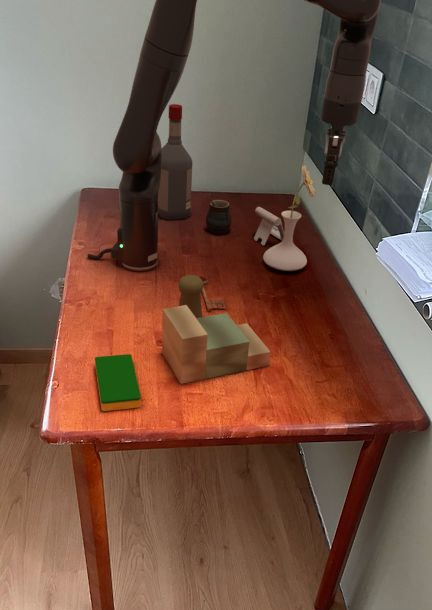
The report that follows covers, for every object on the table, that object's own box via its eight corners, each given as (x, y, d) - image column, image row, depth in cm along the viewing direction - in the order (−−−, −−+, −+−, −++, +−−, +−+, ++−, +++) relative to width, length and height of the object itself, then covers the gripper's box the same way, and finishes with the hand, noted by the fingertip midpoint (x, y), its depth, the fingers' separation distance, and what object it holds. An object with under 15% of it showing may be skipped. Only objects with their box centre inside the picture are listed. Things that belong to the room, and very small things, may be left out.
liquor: (161, 221, 177) (162, 110, 159) (154, 208, 184) (155, 101, 166) (191, 219, 179) (196, 110, 161) (184, 207, 186) (188, 101, 168)
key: (225, 311, 141) (213, 279, 152) (226, 308, 140) (214, 276, 152) (200, 311, 139) (190, 278, 151) (201, 307, 139) (191, 275, 150)
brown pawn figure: (199, 331, 133) (202, 287, 126) (172, 327, 134) (173, 282, 127) (205, 317, 138) (208, 273, 131) (179, 313, 138) (180, 269, 132)
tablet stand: (290, 243, 171) (294, 214, 166) (268, 249, 167) (271, 219, 162) (271, 231, 176) (274, 203, 171) (249, 236, 173) (252, 208, 167)
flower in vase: (294, 280, 154) (309, 181, 139) (254, 266, 159) (265, 169, 143) (315, 261, 163) (332, 166, 148) (277, 249, 168) (290, 156, 152)
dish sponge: (131, 363, 123) (131, 353, 121) (141, 407, 112) (141, 397, 111) (95, 366, 121) (94, 356, 120) (101, 412, 111) (101, 401, 109)
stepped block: (245, 336, 133) (250, 294, 126) (268, 365, 125) (274, 322, 118) (161, 352, 126) (162, 308, 120) (180, 384, 118) (182, 338, 112)
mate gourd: (235, 230, 176) (238, 195, 169) (221, 238, 170) (224, 204, 164) (214, 223, 178) (216, 189, 172) (200, 231, 173) (201, 197, 167)
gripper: (325, 86, 128) (312, 164, 138) (322, 102, 117) (308, 186, 127) (362, 90, 127) (345, 169, 137) (362, 108, 116) (344, 191, 126)
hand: (327, 177), depth 132 cm, fingers open, 8 cm apart
